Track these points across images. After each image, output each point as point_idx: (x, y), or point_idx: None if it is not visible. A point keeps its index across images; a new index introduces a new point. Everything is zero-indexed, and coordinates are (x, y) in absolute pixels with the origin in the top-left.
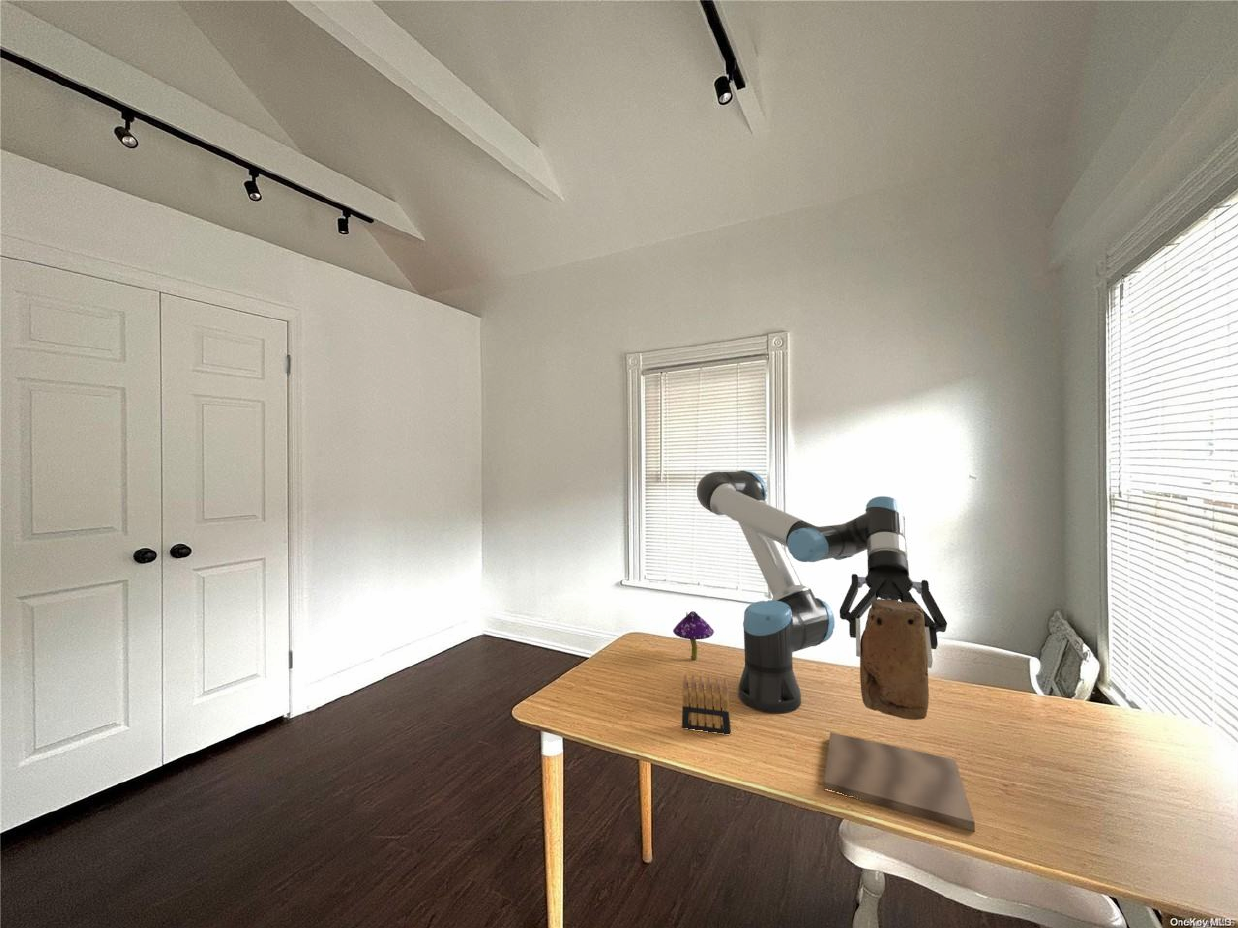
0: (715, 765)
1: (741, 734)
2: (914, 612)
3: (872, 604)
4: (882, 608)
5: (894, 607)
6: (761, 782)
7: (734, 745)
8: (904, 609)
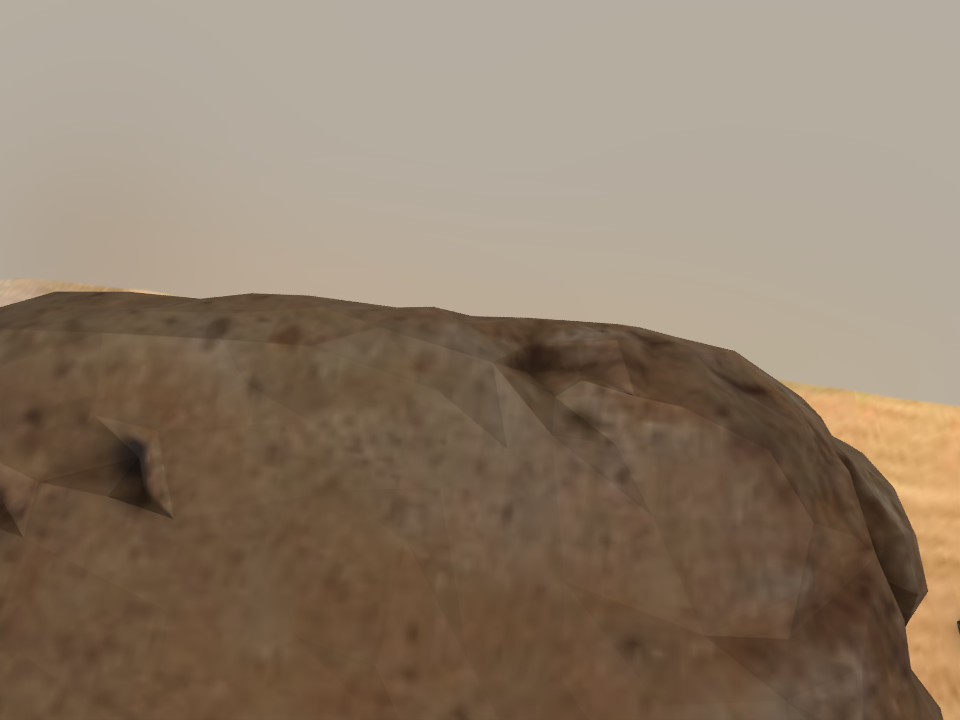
0: (940, 431)
1: (924, 643)
2: (53, 311)
3: (933, 712)
4: (707, 377)
5: (428, 496)
6: (806, 395)
7: (924, 560)
8: (230, 355)
